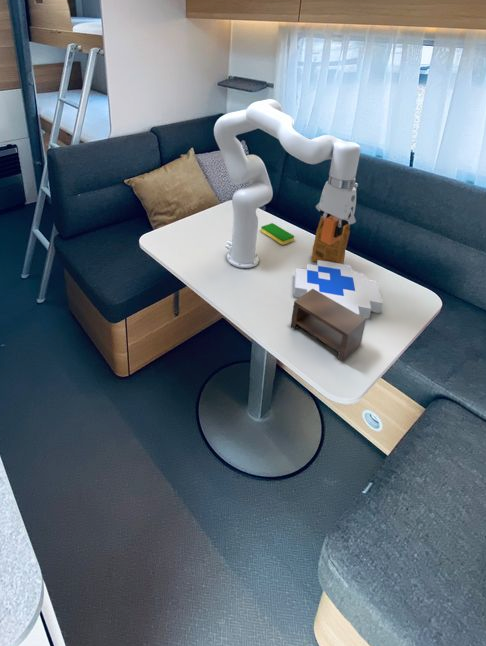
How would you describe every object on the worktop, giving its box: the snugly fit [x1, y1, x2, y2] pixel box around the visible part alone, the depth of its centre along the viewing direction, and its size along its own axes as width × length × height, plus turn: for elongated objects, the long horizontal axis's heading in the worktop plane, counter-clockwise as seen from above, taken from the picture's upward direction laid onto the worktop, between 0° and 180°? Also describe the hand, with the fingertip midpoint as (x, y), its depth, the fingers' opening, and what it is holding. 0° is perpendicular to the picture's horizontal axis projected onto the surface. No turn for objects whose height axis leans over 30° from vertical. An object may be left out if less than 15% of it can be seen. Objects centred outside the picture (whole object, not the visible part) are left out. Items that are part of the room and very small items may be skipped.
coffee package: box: [311, 214, 351, 264], centre depth 160 cm, size 10×12×22 cm
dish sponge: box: [260, 222, 295, 246], centre depth 182 cm, size 7×14×2 cm, turn 32°
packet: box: [321, 215, 341, 245], centre depth 131 cm, size 4×6×8 cm, turn 129°
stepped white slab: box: [293, 260, 383, 319], centre depth 144 cm, size 28×4×28 cm
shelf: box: [290, 289, 367, 363], centre depth 124 cm, size 18×10×10 cm, turn 40°
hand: (331, 232), depth 132 cm, fingers closed on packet, 3 cm apart
